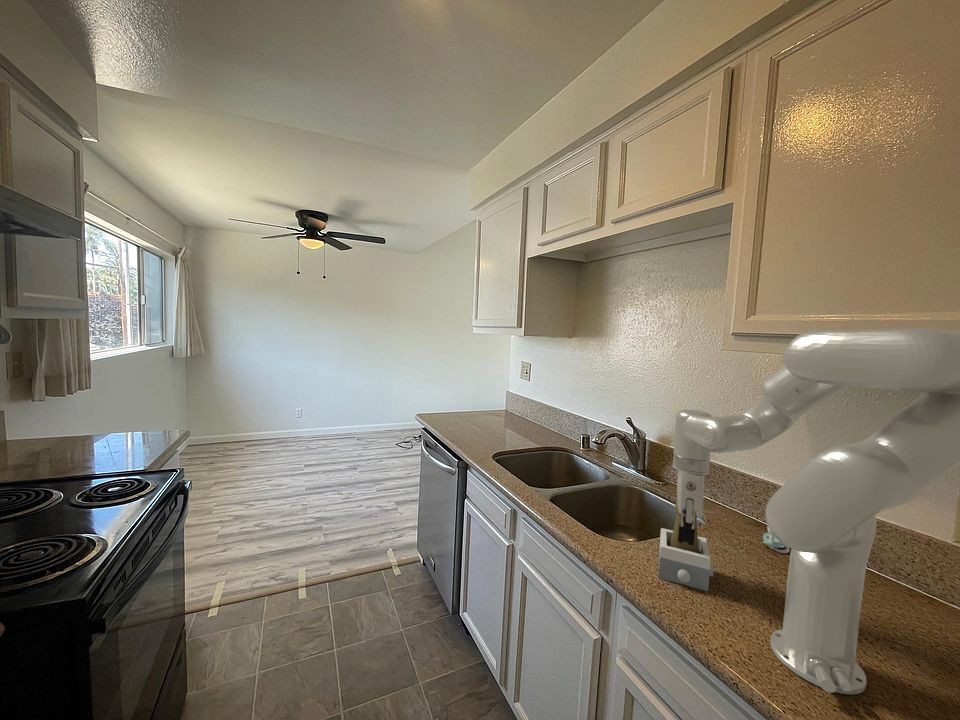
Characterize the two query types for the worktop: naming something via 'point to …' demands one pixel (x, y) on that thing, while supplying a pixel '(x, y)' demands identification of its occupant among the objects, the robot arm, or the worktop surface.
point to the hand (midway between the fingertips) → (685, 538)
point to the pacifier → (774, 542)
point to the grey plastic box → (684, 563)
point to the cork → (674, 538)
